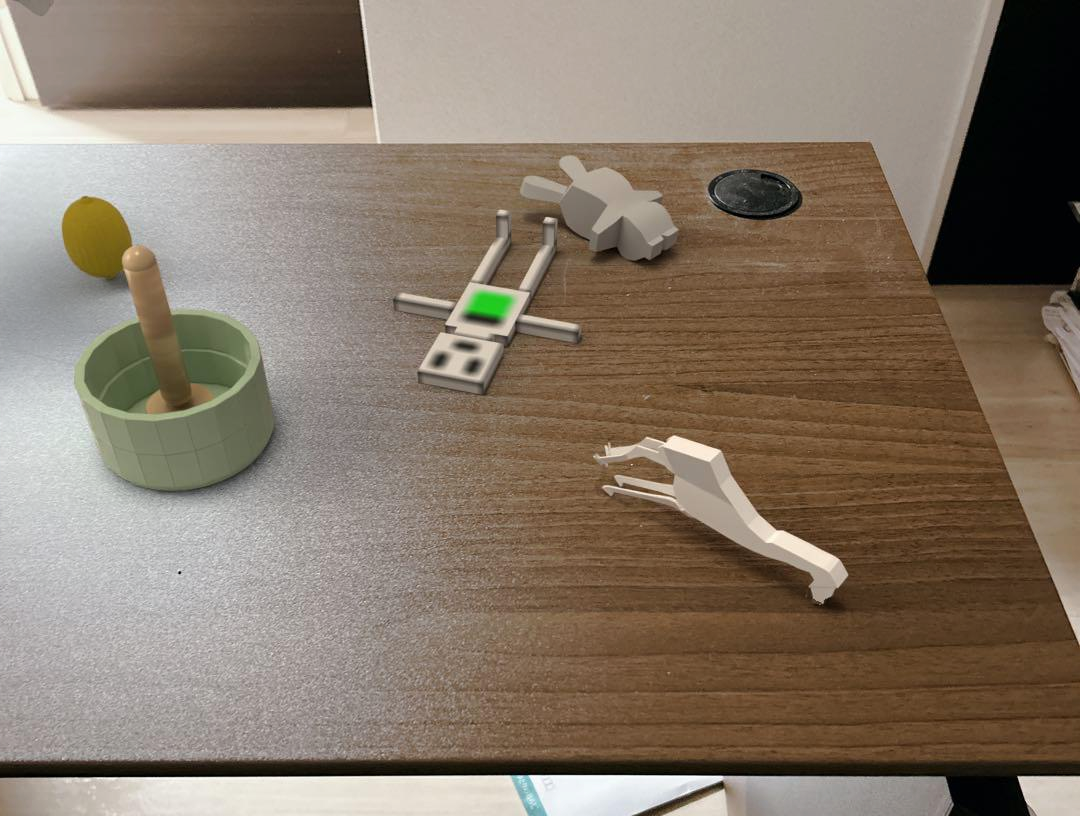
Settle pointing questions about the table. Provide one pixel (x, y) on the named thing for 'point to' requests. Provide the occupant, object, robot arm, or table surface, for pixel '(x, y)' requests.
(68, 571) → the table surface
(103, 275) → the lemon
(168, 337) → the wooden tamper
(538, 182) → the bunny figurine
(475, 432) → the table surface
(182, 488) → the bowl
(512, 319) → the robot figure
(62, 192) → the table surface
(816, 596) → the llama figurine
